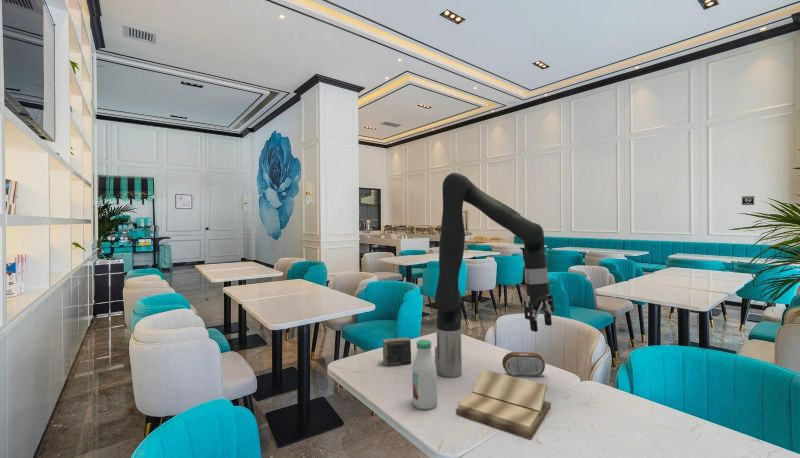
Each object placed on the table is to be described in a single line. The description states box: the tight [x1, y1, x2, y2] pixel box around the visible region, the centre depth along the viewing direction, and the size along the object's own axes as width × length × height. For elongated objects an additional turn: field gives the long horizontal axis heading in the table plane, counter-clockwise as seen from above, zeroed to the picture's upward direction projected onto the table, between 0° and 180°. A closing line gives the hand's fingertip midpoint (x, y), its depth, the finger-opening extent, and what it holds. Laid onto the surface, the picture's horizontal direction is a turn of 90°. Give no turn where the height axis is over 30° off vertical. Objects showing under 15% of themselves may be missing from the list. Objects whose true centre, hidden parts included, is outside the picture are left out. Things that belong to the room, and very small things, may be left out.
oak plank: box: [471, 368, 548, 414], centre depth 114 cm, size 21×9×2 cm
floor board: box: [455, 392, 552, 440], centre depth 110 cm, size 22×20×3 cm
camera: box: [382, 337, 412, 366], centre depth 148 cm, size 11×6×10 cm, turn 98°
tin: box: [501, 351, 546, 378], centre depth 135 cm, size 15×3×8 cm, turn 84°
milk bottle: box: [411, 339, 438, 410], centre depth 115 cm, size 8×8×20 cm
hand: (541, 328), depth 124 cm, fingers open, 8 cm apart
